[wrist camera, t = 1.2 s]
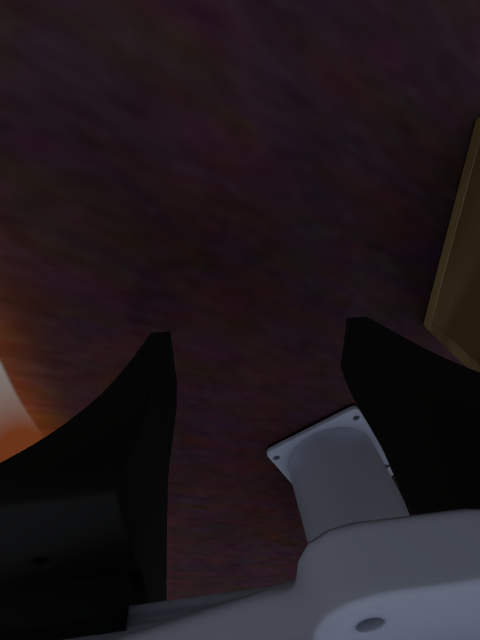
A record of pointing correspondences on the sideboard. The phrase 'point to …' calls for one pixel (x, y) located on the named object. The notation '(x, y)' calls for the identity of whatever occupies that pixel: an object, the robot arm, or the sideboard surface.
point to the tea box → (460, 269)
